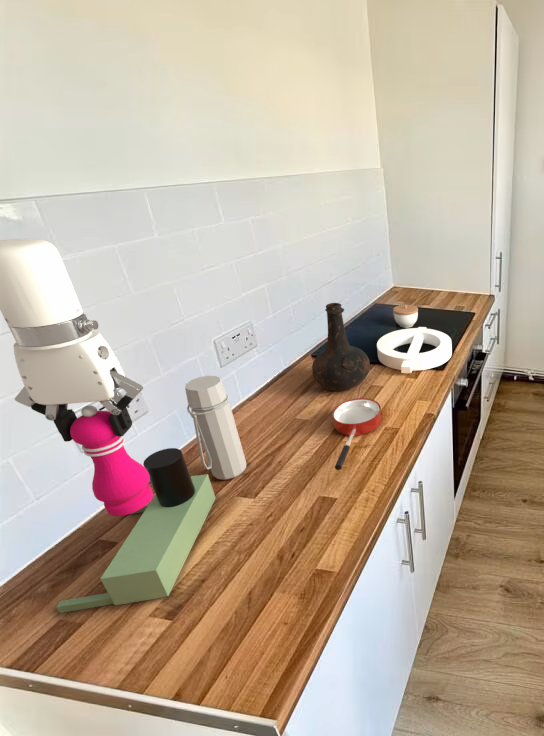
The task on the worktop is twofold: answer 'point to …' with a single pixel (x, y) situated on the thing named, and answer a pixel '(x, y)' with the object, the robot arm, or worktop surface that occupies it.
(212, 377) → the water bottle
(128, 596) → the riser
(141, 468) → the pepper mill
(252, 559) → the worktop surface
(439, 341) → the white circle with bar
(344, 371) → the glass bottle
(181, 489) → the spice tin
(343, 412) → the frying pan
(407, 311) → the trinket box
